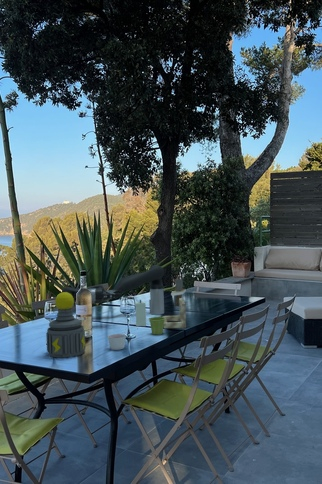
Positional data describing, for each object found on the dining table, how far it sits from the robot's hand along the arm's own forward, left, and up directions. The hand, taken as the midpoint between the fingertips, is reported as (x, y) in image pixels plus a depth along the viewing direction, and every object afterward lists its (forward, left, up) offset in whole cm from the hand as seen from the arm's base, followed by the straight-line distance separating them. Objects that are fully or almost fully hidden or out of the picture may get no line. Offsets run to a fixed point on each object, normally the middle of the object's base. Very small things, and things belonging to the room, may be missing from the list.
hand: (121, 293), depth 300 cm
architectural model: (-16, +80, -20) cm, 85 cm away
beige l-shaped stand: (+24, +20, -20) cm, 37 cm away
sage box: (+8, +7, -20) cm, 23 cm away
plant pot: (+31, -6, -20) cm, 38 cm away
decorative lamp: (+19, -62, -20) cm, 68 cm away
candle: (+34, -42, -20) cm, 58 cm away
